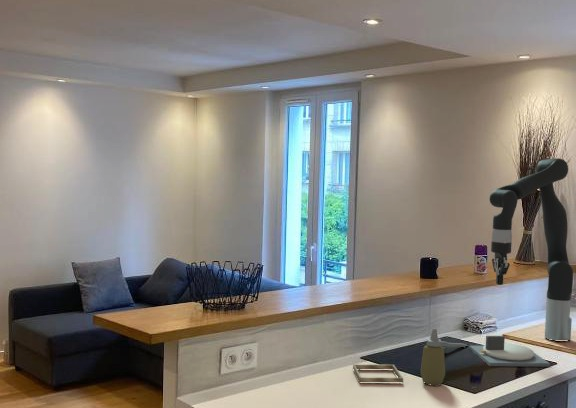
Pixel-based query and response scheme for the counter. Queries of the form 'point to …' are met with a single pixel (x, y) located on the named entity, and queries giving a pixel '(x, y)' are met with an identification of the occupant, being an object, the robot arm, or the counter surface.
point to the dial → (506, 349)
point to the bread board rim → (377, 379)
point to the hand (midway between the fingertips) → (499, 284)
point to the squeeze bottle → (433, 361)
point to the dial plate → (494, 361)
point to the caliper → (451, 344)
